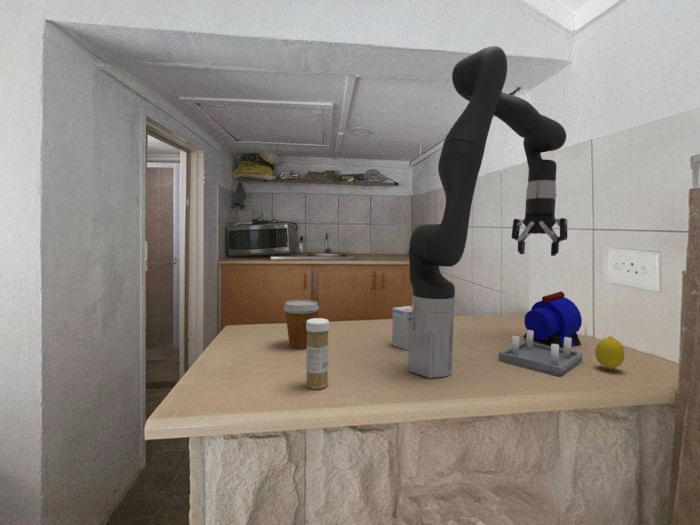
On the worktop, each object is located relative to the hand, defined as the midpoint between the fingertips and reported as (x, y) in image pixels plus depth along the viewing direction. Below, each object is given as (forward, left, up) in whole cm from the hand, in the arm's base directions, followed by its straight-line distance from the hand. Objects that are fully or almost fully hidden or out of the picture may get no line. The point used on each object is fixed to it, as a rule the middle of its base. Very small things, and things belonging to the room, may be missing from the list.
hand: (537, 254), depth 105 cm
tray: (-15, -8, -26) cm, 31 cm away
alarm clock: (+6, -3, -26) cm, 27 cm away
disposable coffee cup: (-54, +40, -26) cm, 72 cm away
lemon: (-9, -21, -26) cm, 34 cm away
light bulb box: (-29, +21, -26) cm, 44 cm away
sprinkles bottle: (-67, +16, -26) cm, 74 cm away
